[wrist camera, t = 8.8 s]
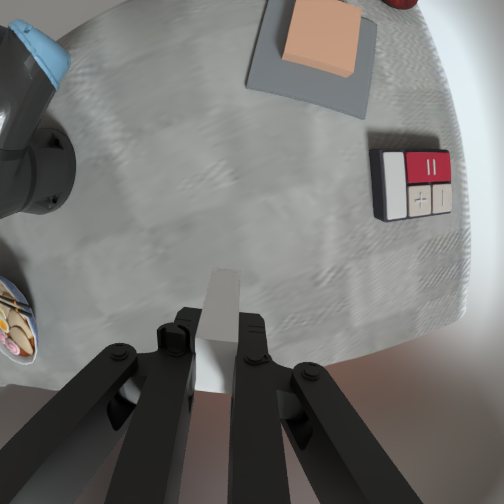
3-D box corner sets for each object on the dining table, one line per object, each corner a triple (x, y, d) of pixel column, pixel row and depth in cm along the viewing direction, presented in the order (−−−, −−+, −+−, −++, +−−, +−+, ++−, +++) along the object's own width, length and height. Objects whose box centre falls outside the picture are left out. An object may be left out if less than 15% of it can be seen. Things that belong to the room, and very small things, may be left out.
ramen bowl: (-1, 330, 48) (-17, 345, 40) (-18, 251, 41) (-40, 262, 33) (65, 361, 50) (49, 382, 42) (49, 272, 43) (24, 290, 35)
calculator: (454, 214, 38) (386, 224, 37) (439, 209, 42) (373, 218, 42) (452, 149, 34) (381, 149, 34) (436, 149, 38) (368, 149, 38)
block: (284, 52, 30) (298, -11, 26) (281, 59, 33) (295, -2, 29) (353, 72, 31) (361, 9, 27) (346, 78, 34) (355, 16, 30)
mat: (246, 88, 35) (246, 86, 34) (270, -6, 29) (271, -9, 28) (362, 119, 36) (364, 119, 36) (375, 25, 31) (377, 24, 30)
